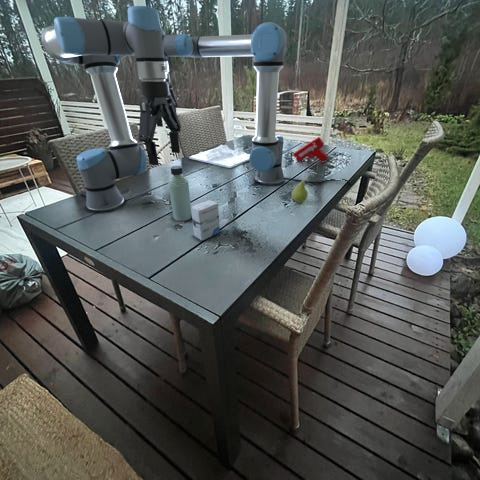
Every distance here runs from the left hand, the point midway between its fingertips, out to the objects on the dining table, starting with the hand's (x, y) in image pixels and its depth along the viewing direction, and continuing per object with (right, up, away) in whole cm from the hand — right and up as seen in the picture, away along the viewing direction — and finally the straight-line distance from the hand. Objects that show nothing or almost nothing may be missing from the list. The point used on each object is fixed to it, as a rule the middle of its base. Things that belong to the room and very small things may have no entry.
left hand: (165, 158), depth 86 cm
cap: (0, +1, +14) cm, 14 cm away
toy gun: (+68, +24, +86) cm, 113 cm away
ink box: (+12, -24, +13) cm, 30 cm away
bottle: (0, -16, +25) cm, 30 cm away
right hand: (-12, +31, +46) cm, 57 cm away
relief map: (+12, +28, +94) cm, 99 cm away
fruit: (+50, -9, +36) cm, 62 cm away
